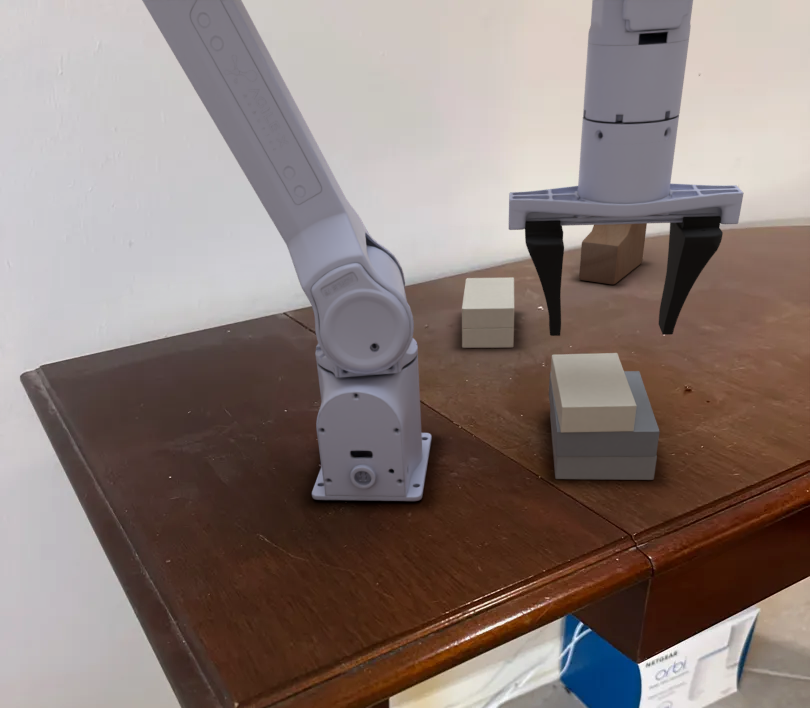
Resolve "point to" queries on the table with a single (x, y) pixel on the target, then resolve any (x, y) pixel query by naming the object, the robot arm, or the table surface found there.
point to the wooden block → (611, 252)
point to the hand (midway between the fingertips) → (609, 330)
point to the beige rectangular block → (592, 393)
